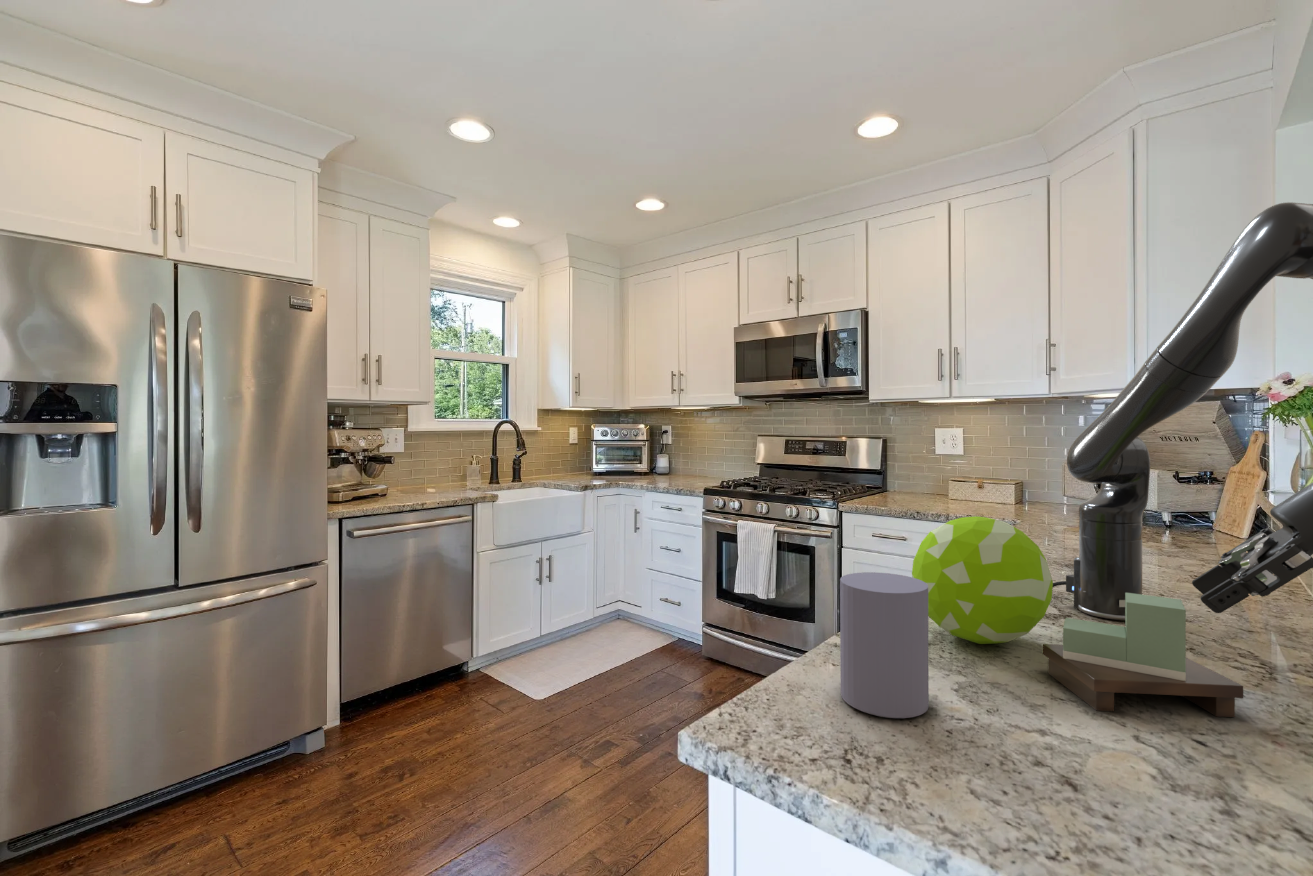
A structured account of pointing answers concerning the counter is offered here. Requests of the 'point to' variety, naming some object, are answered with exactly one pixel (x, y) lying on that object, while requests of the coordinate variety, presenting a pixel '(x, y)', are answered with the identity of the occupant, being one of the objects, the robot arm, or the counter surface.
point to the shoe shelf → (1142, 683)
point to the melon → (983, 579)
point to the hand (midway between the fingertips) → (1202, 597)
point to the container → (884, 644)
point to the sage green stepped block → (1134, 638)
